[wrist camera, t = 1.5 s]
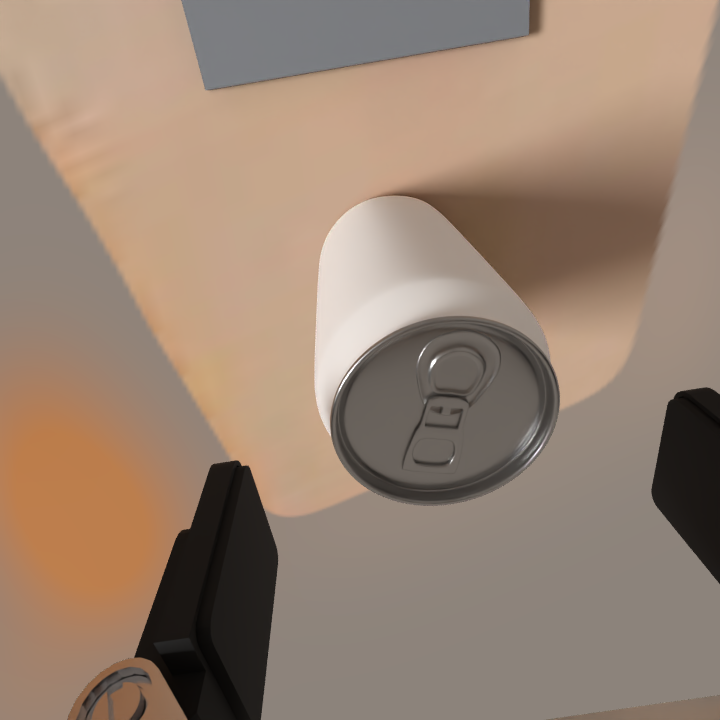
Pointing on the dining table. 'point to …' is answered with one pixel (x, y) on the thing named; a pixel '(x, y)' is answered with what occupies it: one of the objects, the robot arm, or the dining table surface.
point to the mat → (336, 33)
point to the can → (426, 358)
